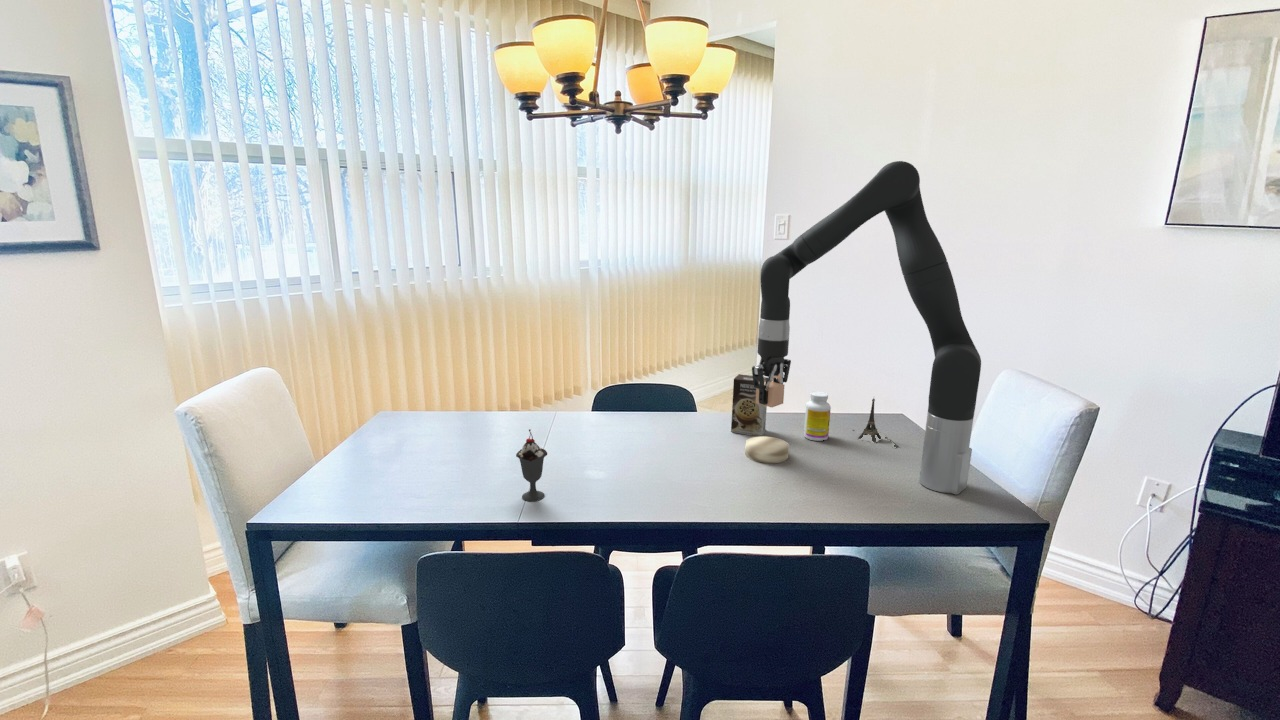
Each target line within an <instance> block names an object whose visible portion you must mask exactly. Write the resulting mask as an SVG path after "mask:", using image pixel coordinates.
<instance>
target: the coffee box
mask: <svg viewBox="0 0 1280 720" xmlns="http://www.w3.org/2000/svg"><path fill="white" fill-rule="evenodd" d="M764 377H765V378H768V377H767V376H764ZM764 382H766V381H764ZM758 384H759V381H758ZM732 387H733V388H732V389H733V390H732V391H733V392H732V406H731V407H732V408H731V427H730V432H731V433H734V434H735V433H736V434H743V435H748V436H753V437H762V436H763V434H764V433H765V431H766V425H767V424H766V421H767V409H768V408H767V407H768V406H764V405H761V404H757V403H756V388H754V385H753V375H750V374H748V375H747V374H738V375H736V376H735V377H734V378H733V385H732Z"/></svg>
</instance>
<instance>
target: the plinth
mask: <svg viewBox="0 0 1280 720" xmlns="http://www.w3.org/2000/svg"><path fill="white" fill-rule="evenodd" d="M789 448H790V446H789V443H788V442H787V441H785V440H783V439H781V438H777V437H773V436H764V435H762V436H753V437H750V438H748V439H746V441H745V448H744V453H745V454H744V455H745V456H746V458H748V459H749V460H752V461H755V462H758V463H763V464H779V463H783V462H786V461H787V460H788V459H789V451H790V450H789Z"/></svg>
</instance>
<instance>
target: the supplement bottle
mask: <svg viewBox="0 0 1280 720" xmlns="http://www.w3.org/2000/svg"><path fill="white" fill-rule="evenodd" d="M809 395H810V396H809V398H810V400H809V401H807V402H806V404H805V413H804V426H803V428H804V429H803V436H804V437H805V438H806V439H807V440H811V441H813V442H814V441H816V442H822V441H823V440H824V441H826V440H827V439H828V438H829V433H830V421H831V420H830V419H831V409H832V407H831V405H830V403H828V402H827V401H828V399H829V394H828V393H826V392H823V391H812V392H810V394H809ZM824 441H823V442H824Z"/></svg>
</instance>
